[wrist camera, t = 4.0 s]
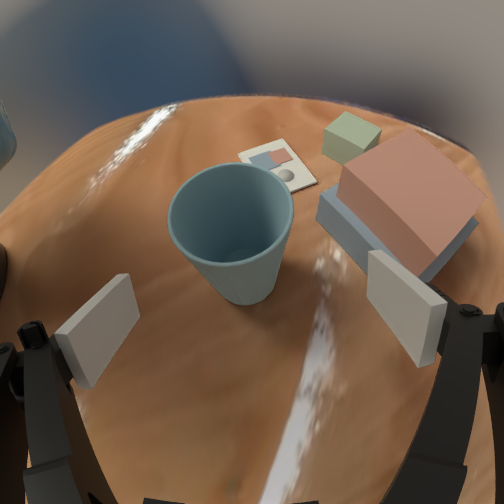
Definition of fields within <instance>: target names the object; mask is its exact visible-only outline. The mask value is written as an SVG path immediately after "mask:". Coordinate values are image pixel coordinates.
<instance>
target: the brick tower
mask: <svg viewBox="0 0 504 504" xmlns="http://www.w3.org/2000/svg"><path fill="white" fill-rule="evenodd" d="M487 197H488V196H487V195H486V194H485V193H484V192H483V191H482V190H481V189H480V188H479V187H478V186H477V185H476V184H475V183H474V182H473V181H472V180H471V179H470V178H469V177H468V176H467V175H466V174H465V173H464V172H463V171H461V170H460V169H459V168H458V167H457V166H456V165H455V164H454V163H453V162H452V161H450V160H449V159H448V158H447V157H446V156H445V155H444V154H442V153H441V152H440V151H439V150H438V149H437V148H435V147H434V146H433V145H432V144H431V143H429V142H428V141H427V140H426V139H424V138H423V137H422V136H421V135H419V134H418V133H417V132H415V131H414V130H413V129H411V128H409V129H407V130H405V131H403V132H401V133H399V134H398V135H396V136H394V137H392V138H390V139H388V140H387V141H385V142H383V143H381V144H379V145H377V146H376V147H374V148H372V149H370V150H368V151H367V152H365V153H363V154H361V155H359V156H358V157H356V158H354V159H352V160H350V161H349V162H347V163H345V164H343V167H342V172H341V176H340V181H339V183H337V184H336V185H334V186H333V187H331V188H329V189H328V190H326V191H324V192H323V193H321V194H320V198H319V204H318V210H317V215H316V220H317V221H318V222H319V223H320V224H321V225H322V226H323V227H324V228H325V229H326V231H327V232H328V233H329V234H330V235H331V236H332V237H333V238H334V239H335V240H336V241H337V242H338V243H339V245H340V246H341V247H342V248H343V249H344V250H345V251H346V252H347V253H348V254H349V255H350V257H351V258H352V259H353V260H354V261H355V262H356V263H357V264H358V266H359V267H360V268H361V269H362V270H363V271H364V272H365V273H366V275H367V276H368V251H372V250H382V251H383V252H385V253H386V254H387V255H389V256H390V257H391V258H393V259H394V260H395V261H397V262H398V263H399V264H401V265H402V266H403V267H404V268H406V269H407V270H408V271H410V272H411V273H412V274H413V275H415V276H416V277H417V278H418V279H420V280H421V281H422V282H423V283H424V282H427V283H429V282H430V281H431V280H432V279H433V278H434V276H435V275H436V274H437V273H438V272H439V271H440V270H441V269H442V267H443V266H444V265H445V264H446V263H447V262H448V261H449V259H450V258H451V257H452V256H453V255H454V254H455V252H456V251H457V250H458V249H459V248H460V246H461V245H462V244H463V243H464V241H465V240H466V239H467V238H468V236H469V235H470V234H471V233H472V231H473V230H474V229H475V227H476V226H477V225H478V222H477V221H476V220H475V218H474V217H473V215H474V213H475V212H476V211H477V210H478V208H479V207H480V206H481V205H482V203H483V202H484V201H485V199H486V198H487Z"/></svg>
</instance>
